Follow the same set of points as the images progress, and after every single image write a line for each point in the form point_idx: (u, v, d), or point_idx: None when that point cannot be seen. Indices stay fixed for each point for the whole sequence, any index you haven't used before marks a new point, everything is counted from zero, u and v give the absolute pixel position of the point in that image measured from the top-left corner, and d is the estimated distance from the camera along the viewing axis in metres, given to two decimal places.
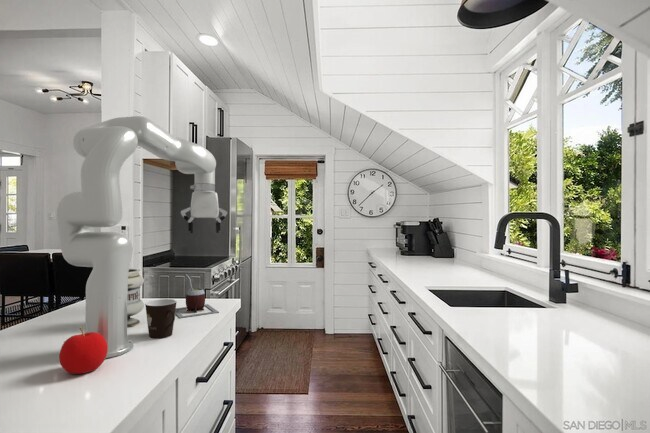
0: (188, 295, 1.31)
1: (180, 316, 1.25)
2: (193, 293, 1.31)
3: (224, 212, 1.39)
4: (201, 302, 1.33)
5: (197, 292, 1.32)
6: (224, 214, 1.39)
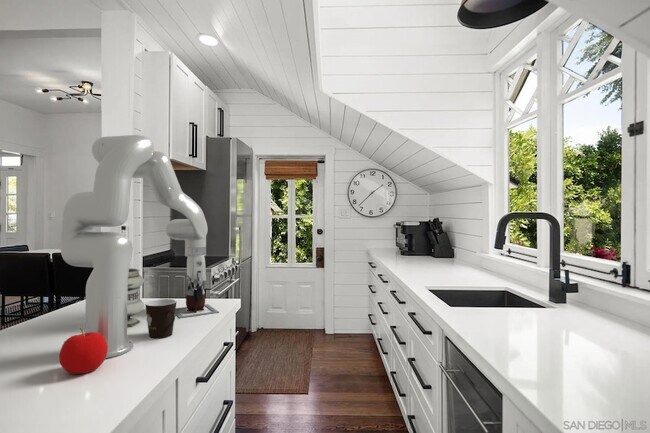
0: (188, 295, 1.31)
1: (180, 316, 1.25)
2: (193, 293, 1.31)
3: None
4: (201, 302, 1.32)
5: None
6: None
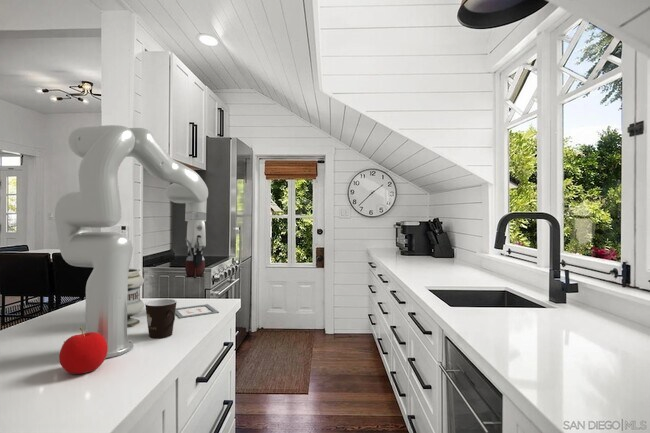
0: (188, 260, 1.30)
1: (180, 316, 1.25)
2: None
3: None
4: (201, 268, 1.32)
5: None
6: None
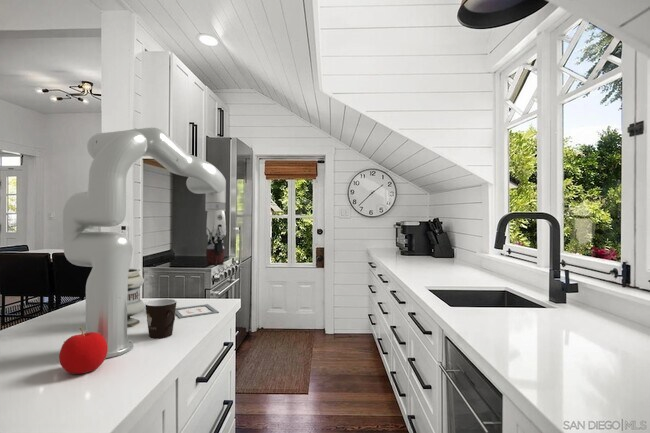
0: (209, 249, 1.35)
1: (180, 316, 1.25)
2: None
3: None
4: (221, 256, 1.36)
5: None
6: None
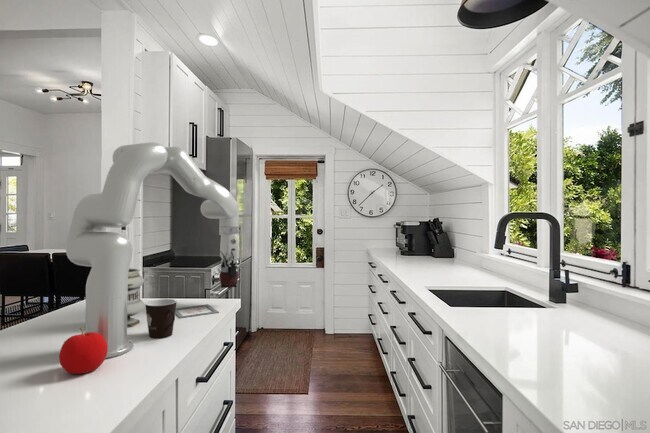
0: (222, 272, 1.38)
1: (180, 316, 1.25)
2: (227, 270, 1.38)
3: None
4: (234, 279, 1.40)
5: None
6: None
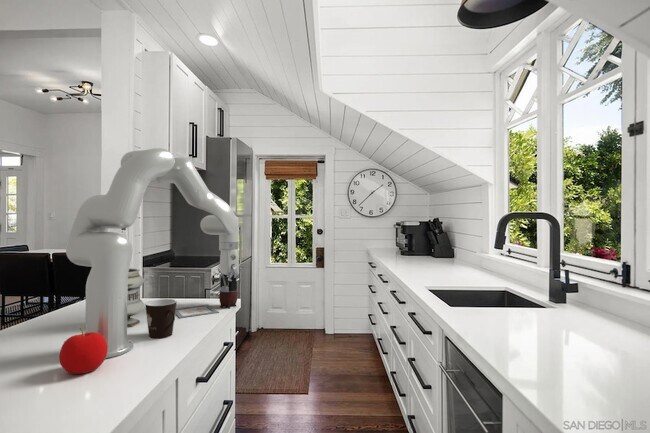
0: (222, 292, 1.38)
1: (180, 316, 1.25)
2: (227, 290, 1.38)
3: None
4: (234, 298, 1.39)
5: None
6: None
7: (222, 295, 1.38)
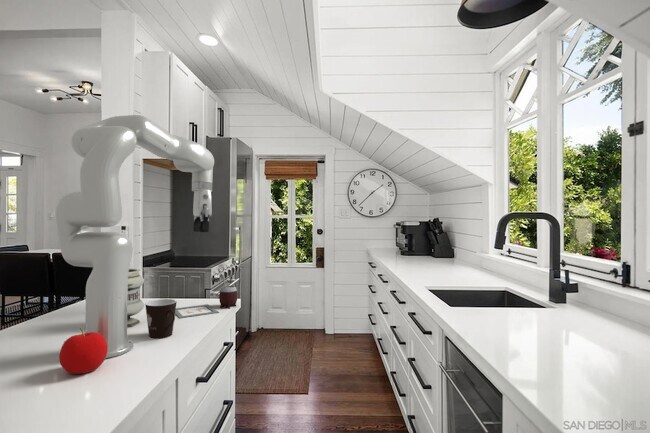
0: (222, 292, 1.38)
1: (180, 316, 1.25)
2: (227, 290, 1.38)
3: None
4: (234, 298, 1.39)
5: (230, 289, 1.38)
6: None
7: (222, 295, 1.38)
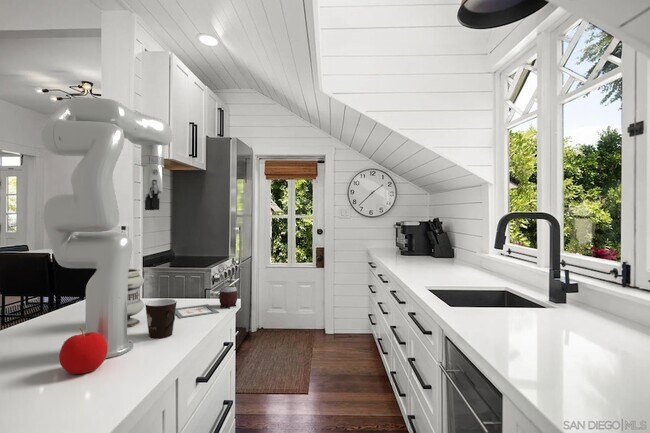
0: (222, 292, 1.38)
1: (180, 316, 1.25)
2: (227, 290, 1.38)
3: None
4: (234, 298, 1.39)
5: (230, 289, 1.38)
6: None
7: (222, 295, 1.38)
